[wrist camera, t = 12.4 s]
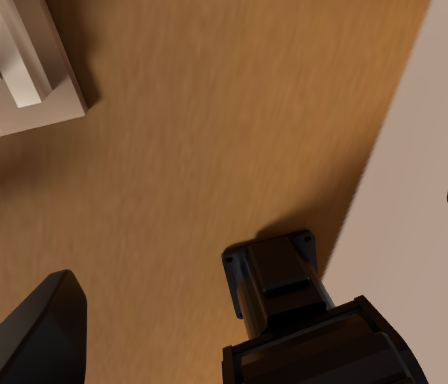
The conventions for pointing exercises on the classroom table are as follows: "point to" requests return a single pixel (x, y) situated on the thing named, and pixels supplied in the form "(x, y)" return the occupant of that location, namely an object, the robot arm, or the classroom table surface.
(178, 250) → the classroom table surface
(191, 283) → the classroom table surface
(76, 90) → the airplane cradle
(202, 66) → the classroom table surface
